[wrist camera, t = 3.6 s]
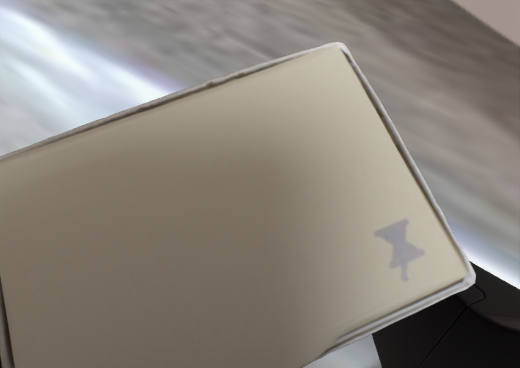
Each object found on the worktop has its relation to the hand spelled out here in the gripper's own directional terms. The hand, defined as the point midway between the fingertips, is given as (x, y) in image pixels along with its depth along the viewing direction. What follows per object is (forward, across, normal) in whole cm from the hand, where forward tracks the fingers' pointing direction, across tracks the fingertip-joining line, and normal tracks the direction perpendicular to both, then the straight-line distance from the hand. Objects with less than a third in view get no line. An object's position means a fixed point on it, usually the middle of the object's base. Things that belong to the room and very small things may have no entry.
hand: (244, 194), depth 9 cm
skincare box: (+4, 0, +6) cm, 7 cm away
